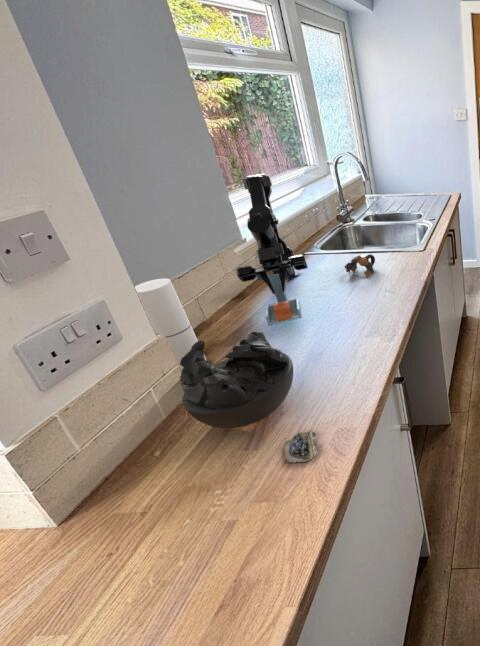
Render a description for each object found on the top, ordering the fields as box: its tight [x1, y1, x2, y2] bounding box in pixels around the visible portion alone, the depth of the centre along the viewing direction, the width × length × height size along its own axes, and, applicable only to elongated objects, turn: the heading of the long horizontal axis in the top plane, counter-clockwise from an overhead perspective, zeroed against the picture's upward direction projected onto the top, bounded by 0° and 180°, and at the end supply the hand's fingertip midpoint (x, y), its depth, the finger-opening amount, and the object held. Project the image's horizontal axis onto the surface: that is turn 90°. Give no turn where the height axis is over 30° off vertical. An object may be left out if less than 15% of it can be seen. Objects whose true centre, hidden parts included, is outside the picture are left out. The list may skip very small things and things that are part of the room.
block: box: [273, 301, 292, 322], centre depth 121 cm, size 4×4×4 cm
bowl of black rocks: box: [179, 331, 294, 429], centre depth 86 cm, size 20×20×19 cm
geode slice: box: [283, 430, 318, 464], centre depth 80 cm, size 7×8×2 cm
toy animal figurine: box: [344, 253, 376, 278], centre depth 155 cm, size 12×10×8 cm
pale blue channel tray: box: [264, 273, 303, 327], centre depth 122 cm, size 10×9×12 cm
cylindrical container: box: [134, 277, 210, 370], centre depth 100 cm, size 7×7×25 cm
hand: (278, 292), depth 123 cm, fingers closed on pale blue channel tray, 2 cm apart
